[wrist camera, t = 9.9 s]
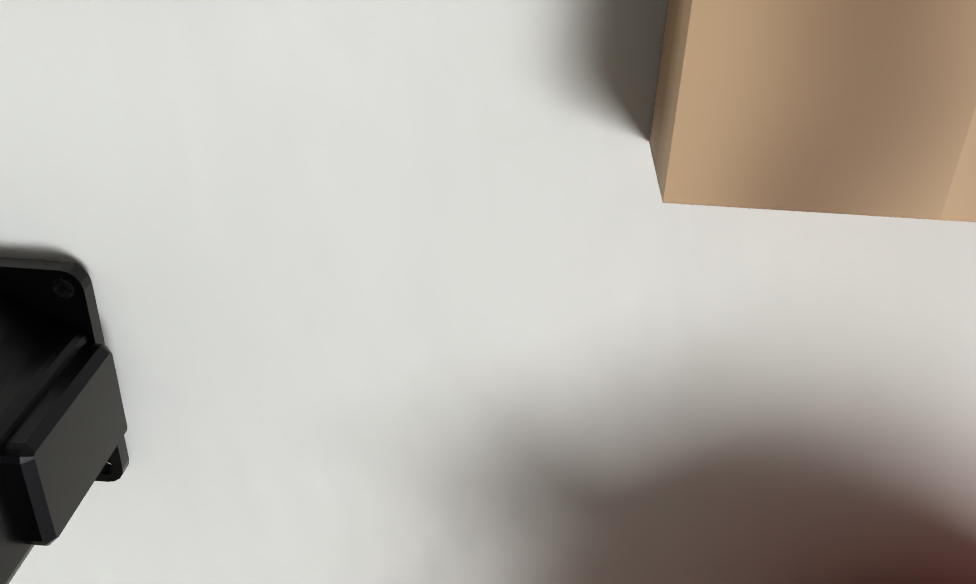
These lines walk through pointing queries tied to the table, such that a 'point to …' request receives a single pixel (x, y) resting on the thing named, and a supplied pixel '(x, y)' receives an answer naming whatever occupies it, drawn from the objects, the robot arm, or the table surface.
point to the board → (819, 106)
